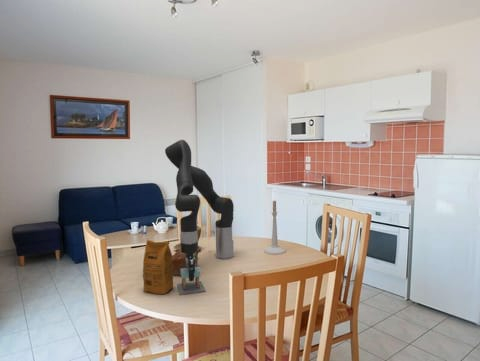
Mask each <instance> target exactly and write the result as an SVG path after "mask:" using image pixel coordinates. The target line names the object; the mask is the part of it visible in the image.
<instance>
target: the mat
mask: <svg viewBox="0 0 480 361" xmlns="http://www.w3.org/2000/svg"><path fill="white" fill-rule="evenodd" d="M176 286H177V290H178V294H179V296H182V295H184V296H185V295H190V294H198V293H200V294H201V293H206V287H205V286H204V283H203V282H202V280H200V288H197V284H196V283H195V281H188V282H186V289H185V290H183V286H182V282H181V283H177V284H176Z"/></svg>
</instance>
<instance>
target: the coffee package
mask: <svg viewBox="0 0 480 361" xmlns="http://www.w3.org/2000/svg"><path fill="white" fill-rule="evenodd" d="M172 256H173V254H172V251H171V248H170V242H169V240H167V241H153V240H151V239H147V240H146V243H145V248H144V255H143V260H142V261H143V263H142V265H143V267H142V279H143V292H145V293H146V292H147V293H151V294H153V295H165V294H167V293H168V292H169V291H170V290H171V289H172V288H174V275H173V263H172V261H173V257H172Z"/></svg>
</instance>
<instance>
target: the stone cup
mask: <svg viewBox="0 0 480 361" xmlns="http://www.w3.org/2000/svg"><path fill="white" fill-rule="evenodd" d="M197 234H198V242H199V240H200V238H201V234H202V228H201V227H200V226H198V225H197ZM173 249H175V250H177V251H178V250H181V244H180V243H177V244H175V245H174V246H173ZM201 250H202V247H200V246H199V245H198V252H200V251H201Z"/></svg>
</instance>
